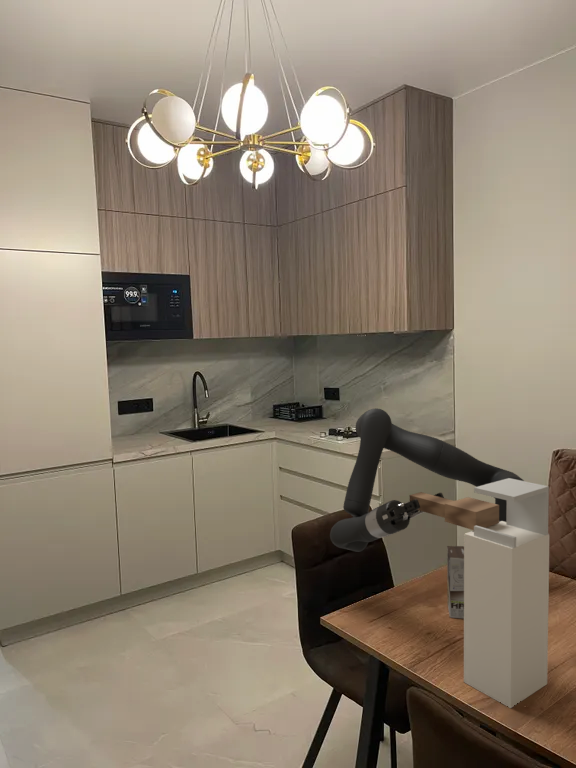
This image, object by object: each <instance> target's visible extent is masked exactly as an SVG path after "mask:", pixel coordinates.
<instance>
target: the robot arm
mask: <svg viewBox="0 0 576 768" xmlns="http://www.w3.org/2000/svg"><path fill="white" fill-rule="evenodd" d="M355 431H356V434H357V436H358V437H359V438H360V439H359V440H360V441H359V449H358V454H357V457H356V461H355V463H354V466H353V469H352V472H351V475H350V478H349V480H348V481H349V482H348V484H347V487H346V493H345V498H344V501H343V506H342V507H343V511H344V512H345V513H347V514H349V515H350V516H352V517H348V518H344V519H341V520H339V521H337V522H335V523H334V524H333V526H332V527H331V529H330V532H329V537H330V541H331V543H332V545H334V546H336V547H337V548H339V549H344V550H349V551H352V552H357V553H358V552H359V553H360V552H362V551H363V550H365V549H366V548H367V546H368V544H369V543H370V542H374V541H376V540H379V539H382V538H385V537H389V536H391V535H394V534H397V533H398V532H401V531H403V530H405V529H407V528H408V526H409V525H410V521H411V519H413V518H416V517H417V516H418V515H421V514H424V513H425V512H423V511H420V510H417V509H419V508H420V505H419V502H418V500H417V499H415V500H412V501H410V500H409V501H406V502H404V503H403V502H401V501H400V500H397V499H392V500H389V501H387V502H385V503H383V504H381V505H379V506H377V507H375V508H373V509H372V510H370V505H371V500H372V496H373V491H374V486H375V481H376V476H377V472H378V468H379V464H380V460H381V457H382V454H383V451H384V449H385V450H388V451H390V452H394V453H396V454H398V455H400V456H401V457H404V458H405V459H407V460H408V461H410V462H412V463H415V464H416V465H418V466H420V467H422V468H424V469H427V471H431V472H432V473H435V474H437V475H438V476H442V477H445V478H448V479H451V480H455V481H458V482H464V483H466V484H469V485H472V486H474V487H478V486H482V485H485V484H489V483H493V482H497V481H500V480H504V479H508V478H511V479H516V480H521V481H525V480H524V479H523V478H522V477H520V476H519V475H518V474H516V473H515V472H512V471H510V470H506V469H503V468H501V467H497V466H495V465H491V464H489V463H486V462H483V461H481V460H479V459H478V458H475V456H473V455H471V454H469V453H467V452H466V451H464V450H462V449H460V448H458V447H457V446H454V445H453V444H451V443H448V442H446V441H444V440H442V439H439V438H437V437H435V436H431V435H426V434H422V433H418V432H414V431H413V432H412V431H410V430H406V429H404V428H401V427H399V426H398V425H396V424H394V423H393V422H392V418H391V417H390V414H388V412H387V411H385V410H384V409H382V408H371V409H367V410H366V411H365V412H364V413H363V414H361V415H360V416H359V417H358V418H357V421H356V422H355ZM433 495H434V496H438V497H441V498H445V497H444V494H443V493H442V492H438V493H435V494H433ZM493 498H494V499H495V500H494V502H495V503H494V504H498V505H499V522H500V521H504V522H506V514H507V500H503V499H499V498H495V497H493Z"/></svg>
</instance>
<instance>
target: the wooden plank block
mask: <svg viewBox="0 0 576 768" xmlns="http://www.w3.org/2000/svg"><path fill="white" fill-rule="evenodd" d="M434 495H435V494H430V493H426V492H422V491H420V492H415V493H412V494H409V501H412V500H415V499H417V500H418V502H419V505H420V508H419V509H417V510H420V511H423V512H424V513H427V514H431V515H433V516H437V517H441V518H443V519H444V522H445V523H448V524H450V525H454V526H458V527H461V528H465V529H469V530H471V531H474V526H476V525H477V526H480V527H484V528H486V527H489V526H492V525H495V524H498V523H499V505H498V504H495V503H493V502H490V501H487V500H486V501H484V500H482V499H477V498H473V497H471V496H470V497H469V496H467V497H464V498H460V499H456V500H453V499H448V498H445V497H444V498H441V497H438V496H434ZM420 511H419V512H420Z"/></svg>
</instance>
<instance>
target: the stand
mask: <svg viewBox="0 0 576 768" xmlns="http://www.w3.org/2000/svg"><path fill="white" fill-rule="evenodd" d="M473 488H474V489H473V492H474V493H476V494H479V495H483V496H486V497H487V496H488V497H491V498H494V497H495V498H499V499H503V500H507V514H506V522H504V521H500V522H499V523H498V524H495V525H492V526H489V527H486V528H484V527H480V526H477V525H476V526H474V530H471V531H468V532H466V533H464V535H463V539H464V540H463V544H464V545H463V546H464V619H463V683H465V684H466V685H469V686H470V687H472V688H473V689H475V690H477V691H479V692H481V693H482V694H485V695H486V696H488V697H489V698H491V699H493V700H495V701H497V702H498V703H500V702H501V704H502V705H504V706H506V707H507V706H508V707H507V708H509V709H512V708H513V707H515V706H517V703H518V704H519V703H521V702H522V701H524V700H525V699H527V698H528V697H530V696H531V695H533V694H534V693H536V692H537V691H539V690H540V689H542V688H544V687H545V686H546V685H547V684H548V665H549V664H548V661H549V660H548V659H549V658H548V657H549V656H548V655H549V653H548V650H549V645H548V644H549V591H550V589H549V587H550V586H549V583H550V533H549V503H550V502H549V501H550V499H549V497H550V496H549V495H550V494H549V493H550V492H549V491H550V489H549V488H550V486H549V485H544V484H540V483H534V482H529V481H525V480H524V481H521V480H516V479H511V478H508V479H504V480H500V481H497V482H493V483H489V484H485V485H482V486H478V487H476V486H474V487H473ZM495 498H494V499H495ZM520 701H521V702H520ZM514 705H515V706H514Z"/></svg>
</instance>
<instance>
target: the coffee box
mask: <svg viewBox="0 0 576 768" xmlns="http://www.w3.org/2000/svg"><path fill="white" fill-rule="evenodd" d="M446 547H447V550H446V551H447V553H446V556H447V557H446V560H447V563H446V565H447V566H446V571H447V574H446V577H447V582H446V583H447V584H446V585H447V586H446V587H447V589H446V590H447V599H446V601H447V602H446V603H447V607H448V614H449V615H448V616H449V618H453V619H462V620H464V545H460V546H459V545H457V546H456V545H455V546H454V545H453V546H452V545H447V546H446Z"/></svg>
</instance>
